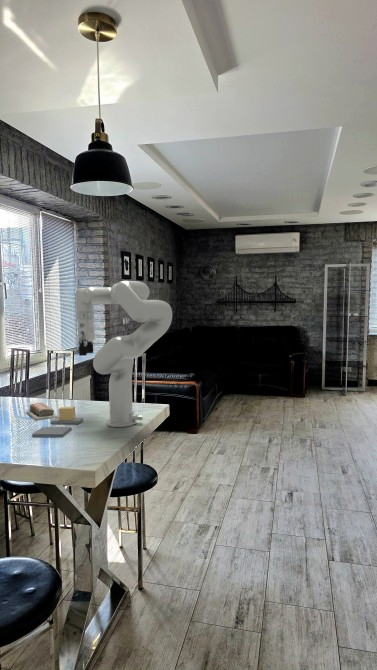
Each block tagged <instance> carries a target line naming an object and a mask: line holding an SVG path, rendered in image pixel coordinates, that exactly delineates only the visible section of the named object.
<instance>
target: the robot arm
mask: <svg viewBox="0 0 377 670" xmlns="http://www.w3.org/2000/svg"><path fill="white" fill-rule="evenodd" d="M150 292H151V291H150V288H149V286H148V285H147V284H146V283H145V282H142V281H135V280H123V281H118V282H117V283H115V284H113V285H112V286H111V287H102V286H88V287H85V288H84V287H81V288H77V289H76V290H75V304H76V305H75V306H76V309H75V310H76V312H75V313H76V320H77V321H78V322H77V338H78V339H77V340H78V353H79V354H78V356H87V354H94V341H95V340H96V334H95V325H94V324H95V323H94V320H95V314H94V313H95V312H94V309H95V307H94V305H115V304H116V305H120V307H122V309H123V310H124V311H125V312H126V313H127V315H128V316H129V317H130V319H132V320H133V321H134V322H137V323H143V324H141V325H140V326H139V327H138V328H137V329H136V330H135V331H133V333H131V334H128V335H127V334H126V335H118V336H114V337H111V339H109V340H108V341H107V342H106V343H105V344H104V345H103V346H102V347H101V348H100V349H99V350H98V351H97V352H96V353H95V355H94V357H93V361H92V366H93V369H94V371H96V373H98V374H100V375H109V374H110V377H109V379H108V381H109V382H108V397H109V419H107V420H106V422H105V423H106V424H105V425H107V426H108V427H111V428H123V427H124V428H125V427H130V426H134V425H135V424H137V421H143V420H144V418H143V417H144V416H143V414H136V413H135V411H134V410H133V383H132V382H133V379H132V378H133V370H134V369H133V368H134V361H135V360H134V359H137V358H139V357H141V356H142V355H143V354H144V353H145V352H146V351H147V350H148V349H149V348H150V347H151V346H153V344H154V343H155V342H157V341H158V340H159V339H160V338H161V337H163V335H165V333H166V332H167V331H168V330H169V328H170V326H171V323H172V320H173V310H172V307H171V305H170V304H169V303H168V302H166V301H165V300H159V299H148V298H149V296H150Z"/></svg>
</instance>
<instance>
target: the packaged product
mask: <svg viewBox="0 0 377 670" xmlns="http://www.w3.org/2000/svg"><path fill="white" fill-rule="evenodd" d="M25 411H26V412H25V413H26V415H28V416H29V417H30V418H31V419H32V420H34V421H44V420H51V419H55V418H56V417H59V414H56V413H55V410H54V409H53V408H51V407H50V406H49V405H47V404H46V403H44V402H36V403H31V404H30V405H29V410H27V409H26V410H25Z"/></svg>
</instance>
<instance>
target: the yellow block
mask: <svg viewBox="0 0 377 670" xmlns="http://www.w3.org/2000/svg"><path fill="white" fill-rule="evenodd" d="M81 422H84V417H76V406H61V407H59V408H58V417H56V418H52V420H50V424H54V425H56V424H57V425H58V424H59V425H60V424H61V425H64V424H65V425H68V424H69V425H78V424H81Z"/></svg>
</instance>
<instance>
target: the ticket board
mask: <svg viewBox="0 0 377 670" xmlns="http://www.w3.org/2000/svg"><path fill="white" fill-rule="evenodd" d="M72 429H73V428H72V426H42V427H40V428H39V429H38V430H36V431H35V432H33V433H32V434H31V437H32V438H64V437H65V436H66V435H68V434H69V433H70V432H71V431H72Z"/></svg>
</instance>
